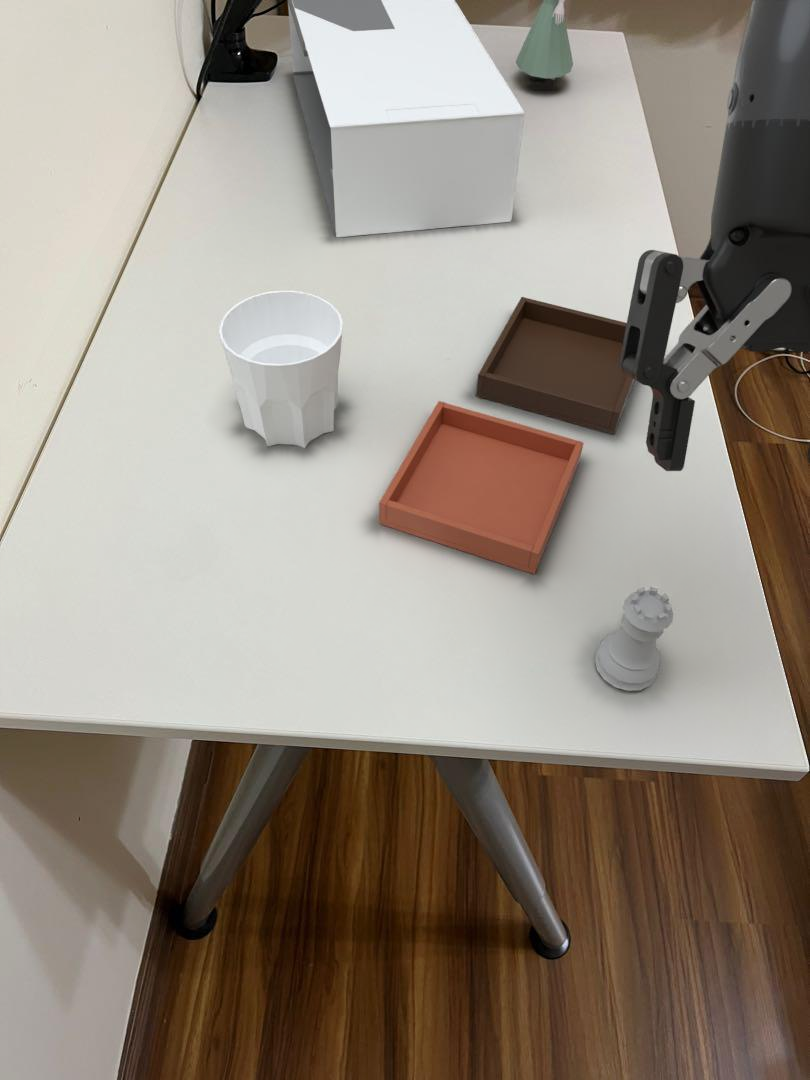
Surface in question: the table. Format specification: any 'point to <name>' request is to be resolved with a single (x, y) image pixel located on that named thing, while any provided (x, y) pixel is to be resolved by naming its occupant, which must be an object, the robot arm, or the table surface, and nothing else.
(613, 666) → the rook chess piece
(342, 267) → the table surface
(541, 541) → the terracotta tray
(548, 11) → the character figurine
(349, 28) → the white box
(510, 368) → the walnut tray
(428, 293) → the table surface
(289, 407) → the cup
